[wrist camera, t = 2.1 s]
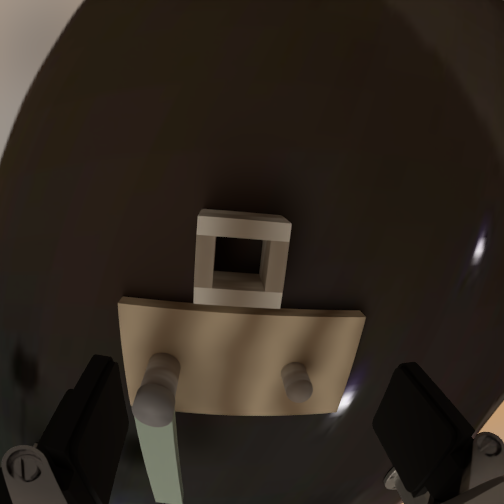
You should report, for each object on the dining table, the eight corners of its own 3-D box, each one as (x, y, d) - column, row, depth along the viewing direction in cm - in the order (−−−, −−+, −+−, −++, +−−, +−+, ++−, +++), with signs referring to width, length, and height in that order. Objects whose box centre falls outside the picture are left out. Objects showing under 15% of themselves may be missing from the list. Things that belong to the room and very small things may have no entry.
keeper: (174, 386, 21) (171, 401, 19) (184, 493, 26) (183, 505, 24) (134, 381, 21) (129, 395, 19) (156, 489, 25) (155, 501, 24)
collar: (281, 215, 25) (291, 223, 21) (272, 289, 26) (280, 308, 23) (202, 208, 24) (197, 215, 20) (197, 284, 26) (193, 303, 22)
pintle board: (359, 310, 28) (386, 340, 22) (332, 403, 31) (348, 438, 25) (122, 296, 25) (100, 326, 20) (133, 396, 28) (121, 433, 23)
